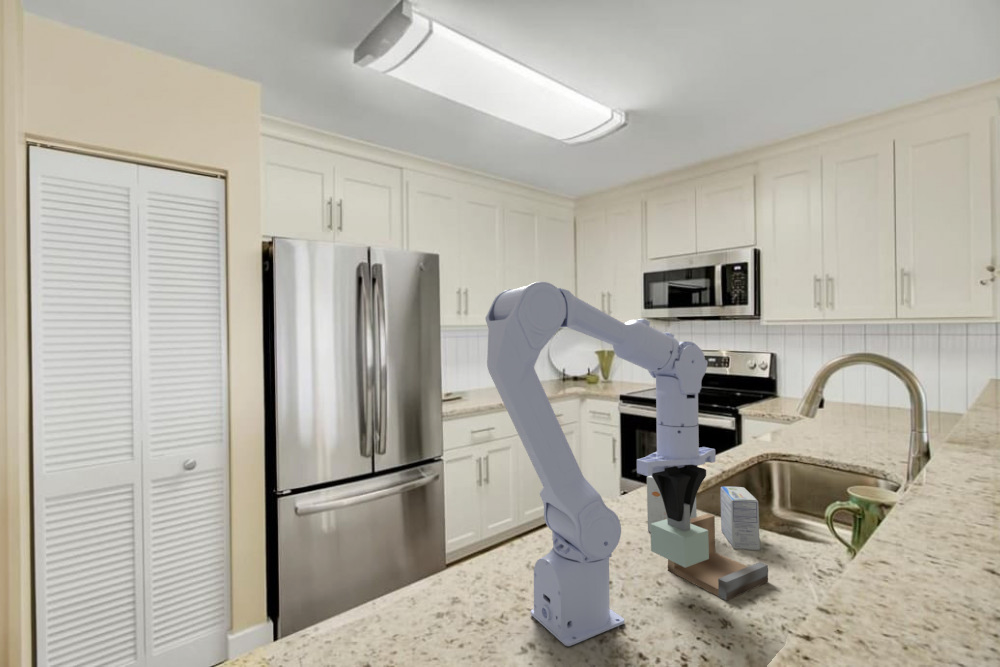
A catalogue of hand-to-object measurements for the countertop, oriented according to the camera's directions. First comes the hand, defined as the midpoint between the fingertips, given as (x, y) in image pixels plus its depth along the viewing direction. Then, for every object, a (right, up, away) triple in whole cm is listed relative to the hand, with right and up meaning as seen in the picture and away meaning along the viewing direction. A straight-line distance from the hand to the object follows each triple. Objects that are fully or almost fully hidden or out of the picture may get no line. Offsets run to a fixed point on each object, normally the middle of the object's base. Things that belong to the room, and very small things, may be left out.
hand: (678, 517), depth 67 cm
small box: (+7, -11, +21) cm, 25 cm away
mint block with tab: (0, -5, 0) cm, 5 cm away
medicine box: (+17, -11, +17) cm, 26 cm away
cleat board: (+7, -11, +4) cm, 14 cm away
